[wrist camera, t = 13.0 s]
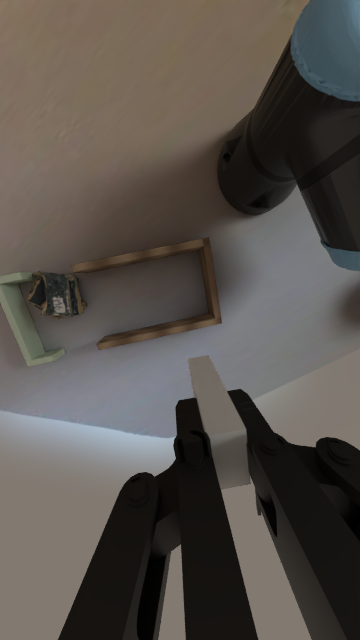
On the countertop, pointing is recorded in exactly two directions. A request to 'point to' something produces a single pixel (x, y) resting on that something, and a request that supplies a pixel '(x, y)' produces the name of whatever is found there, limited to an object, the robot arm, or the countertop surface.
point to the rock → (56, 294)
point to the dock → (23, 321)
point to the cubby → (170, 327)
